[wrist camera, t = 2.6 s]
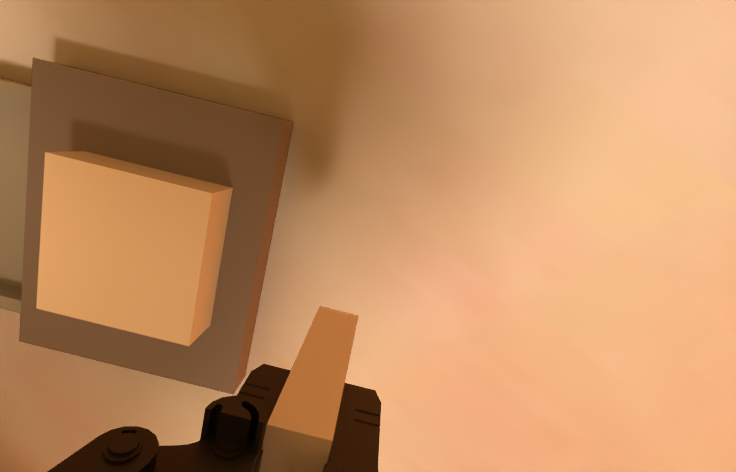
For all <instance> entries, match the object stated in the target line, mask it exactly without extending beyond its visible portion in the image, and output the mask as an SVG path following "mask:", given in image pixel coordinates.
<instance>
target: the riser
mask: <svg viewBox="0 0 736 472" xmlns="http://www.w3.org/2000/svg"><path fill="white" fill-rule="evenodd" d="M292 128H293V122H292V121H288V120H284V119H280V118H275V117H271V116H267V115H263V114H259V113H255V112H251V111H247V110H243V109H239V108H235V107H231V106H227V105H223V104H219V103H215V102H211V101H207V100H203V99H198V98H194V97H190V96H186V95H182V94H178V93H174V92H170V91H166V90H162V89H158V88H154V87H150V86H146V85H142V84H138V83H134V82H130V81H125V80H121V79H117V78H113V77H109V76H105V75H101V74H97V73H93V72H89V71H85V70H81V69H77V68H73V67H69V66H65V65H61V64H56V63H52V62H48V61H44V60H40V59H36V58H33V64H32V85H31V106H30V127H29V148H28V169H27V190H26V211H25V232H24V253H23V274H22V295H21V316H20V337H19V341H21V342H25V343H29V344H33V345H37V346H41V347H45V348H49V349H53V350H57V351H61V352H65V353H69V354H73V355H77V356H81V357H85V358H89V359H93V360H97V361H101V362H105V363H109V364H113V365H117V366H121V367H125V368H129V369H133V370H137V371H141V372H145V373H149V374H153V375H158V376H162V377H166V378H170V379H174V380H178V381H182V382H186V383H190V384H194V385H198V386H202V387H206V388H210V389H214V390H218V391H222V392H226V393H230V394H234V392H235V391H236V389H237V388H238V386H239V385H240V383H241V381H242V380H243V378H244V377H245V374H246V369H247V363H248V358H249V353H250V348H251V342H252V337H253V332H254V327H255V321H256V316H257V311H258V306H259V300H260V295H261V290H262V285H263V279H264V274H265V269H266V264H267V259H268V253H269V248H270V243H271V238H272V232H273V227H274V222H275V217H276V211H277V206H278V201H279V196H280V190H281V185H282V180H283V175H284V169H285V164H286V159H287V154H288V149H289V143H290V138H291V133H292ZM71 151H86V152H90V153H94V154H98V155H102V156H106V157H110V158H114V159H118V160H122V161H126V162H130V163H134V164H138V165H142V166H146V167H150V168H154V169H158V170H163V171H167V172H171V173H175V174H179V175H183V176H187V177H191V178H195V179H199V180H203V181H207V182H211V183H215V184H219V185H223V186H227V187H231V188H233V190H232V196H231V202H230V208H229V214H228V220H227V226H226V233H225V239H224V245H223V251H222V257H221V263H220V269H219V275H218V281H217V287H216V294H215V300H214V306H213V312H212V318H211V324H210V326H209V327H208V328H207V329H206V330H205V331H204V332H203V333H202V334H201V335H200V336H199V337H198V338H197V339H196V340H195V341H194V342H193V343H192V344H191V345H190V346H186V345H182V344H178V343H174V342H170V341H166V340H162V339H157V338H153V337H149V336H145V335H141V334H137V333H133V332H129V331H125V330H121V329H117V328H113V327H109V326H105V325H101V324H97V323H93V322H89V321H85V320H81V319H77V318H73V317H69V316H65V315H61V314H57V313H53V312H49V311H45V310H41V309H37V308H36V303H37V286H38V268H39V251H40V233H41V215H42V198H43V180H44V163H45V152H71Z"/></svg>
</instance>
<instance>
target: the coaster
mask: <svg viewBox="0 0 736 472" xmlns="http://www.w3.org/2000/svg"><path fill="white" fill-rule="evenodd" d="M232 190H233V188H231V187H227V186H223V185H219V184H215V183H211V182H207V181H203V180H199V179H195V178H191V177H187V176H183V175H179V174H175V173H171V172H167V171H163V170H158V169H154V168H150V167H146V166H142V165H138V164H134V163H130V162H126V161H122V160H118V159H114V158H110V157H106V156H102V155H98V154H94V153H90V152H86V151H71V152H45V163H44V180H43V198H42V215H41V233H40V251H39V268H38V286H37V303H36V308H37V309H41V310H45V311H49V312H53V313H57V314H61V315H65V316H69V317H73V318H77V319H81V320H85V321H89V322H93V323H97V324H101V325H105V326H109V327H113V328H117V329H121V330H125V331H129V332H133V333H137V334H141V335H145V336H149V337H153V338H157V339H162V340H166V341H170V342H174V343H178V344H182V345H186V346H190V345H191V344H192V343H193V342H194V341H195V340H196V339H197V338H198V337H199V336H200V335H201V334H202V333H203V332H204V331H205V330H206V329H207V328H208V327H209V326H210V324H211V318H212V312H213V306H214V300H215V294H216V287H217V281H218V275H219V269H220V263H221V257H222V251H223V245H224V239H225V233H226V226H227V220H228V214H229V208H230V202H231V196H232Z"/></svg>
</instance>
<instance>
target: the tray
mask: <svg viewBox="0 0 736 472" xmlns="http://www.w3.org/2000/svg"><path fill="white" fill-rule="evenodd" d="M30 106H31V85H27V84H22V83H18V82H14V81H10V80H6V79H2V78H0V308H3V309H7V310H11V311H15V312H19V313H21V295H22V274H23V253H24V232H25V211H26V190H27V169H28V148H29V127H30Z"/></svg>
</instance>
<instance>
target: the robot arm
mask: <svg viewBox="0 0 736 472" xmlns="http://www.w3.org/2000/svg"><path fill="white" fill-rule="evenodd" d="M357 320H358V316H357V315H353V314H349V313H345V312H341V311H337V310H333V309H329V308H325V307H321V306H320V307H319V309H318V311H317V314H316V316H315V318H314V320H313V322H312V325H311V327H310V329H309V331H308V334H307V336H306V338H305V340H304V343H303V345H302V347H301V349H300V351H299V354H298V356H297V358H296V360H295V363H294V365H293V367H292V369H291V371H290V370H286V369H282V368H278V367H274V366H270V365H266V364H263V365H261V366H259V367H258V368H256V369H255V370H253V371H251V373H250V375H249V376H248V378H247V380H246V381H245V383H244V384H243V386H242V388H241V389H240V391H239V394H237V396H229V397H222V398H220V399H218V400H215V401H213V402H212V403H211V404H210V405H209V406H207V407H206V408H205V414H204V420H203V426H202V433H201V439H200V441H198V442H195V443H192V444H188V445H178V446H159V443H158V440H157V437H156V435H155V434H153V433H152V432H151V431H150V430H148V429H145V428H141V427H121V428H117V429H113V430H110V431H108V432H106V433H104V434H102V435H100V436H98V437H97V438H96V439H94V440H93V441H91V442H90V443H88V444H87V445H85V446H84V447H83V448H81V449H80V450H78V451H77V452H75V453H74V454H72V455H71V456H70V457H68V458H67V459H65V460H64V461H62V462H61V463H59V464H58V465H57V466H55V467H54V468H52V469H51V470H49V471H48V472H378V452H379V433H380V428H379V427H380V414H381V402H380V400H379V398H378V396H377V393H376V391H375V390H371V389H367V388H363V387H359V386H355V385H351V384H347V383H345V378H346V374H347V369H348V364H349V359H350V354H351V349H352V344H353V340H354V335H355V330H356V325H357Z"/></svg>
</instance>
